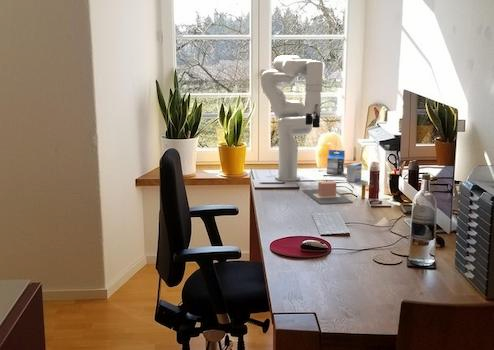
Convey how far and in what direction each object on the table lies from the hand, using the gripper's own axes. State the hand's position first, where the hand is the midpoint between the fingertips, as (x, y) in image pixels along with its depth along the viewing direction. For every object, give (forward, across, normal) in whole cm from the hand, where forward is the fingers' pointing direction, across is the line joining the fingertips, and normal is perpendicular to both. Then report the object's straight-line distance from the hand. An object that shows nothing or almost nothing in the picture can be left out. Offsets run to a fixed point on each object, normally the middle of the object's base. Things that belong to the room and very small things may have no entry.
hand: (312, 125), depth 265 cm
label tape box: (+31, -32, +25) cm, 51 cm away
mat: (+30, +14, +3) cm, 33 cm away
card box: (+30, +14, +3) cm, 33 cm away
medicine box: (+31, -14, +28) cm, 44 cm away
